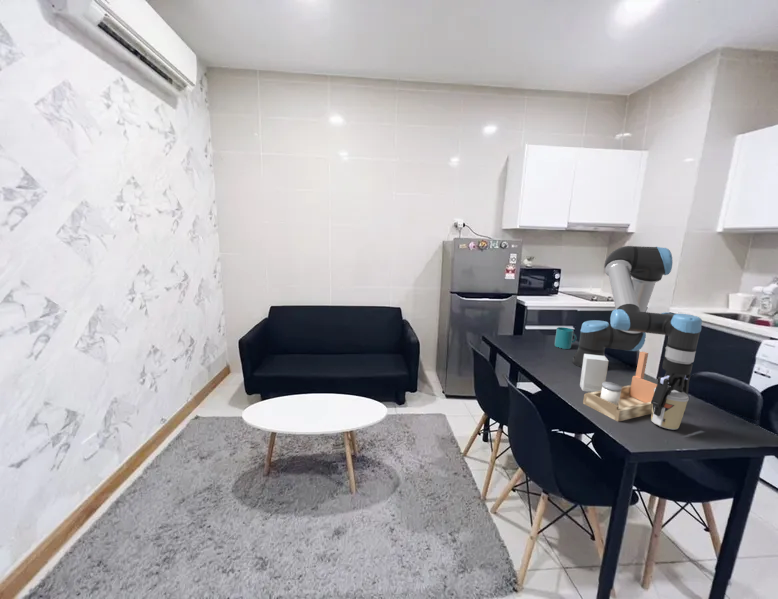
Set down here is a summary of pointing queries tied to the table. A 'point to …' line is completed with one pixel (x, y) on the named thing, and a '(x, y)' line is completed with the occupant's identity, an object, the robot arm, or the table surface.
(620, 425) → the table surface
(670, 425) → the coffee cup
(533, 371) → the table surface
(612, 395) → the jar
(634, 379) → the pusher
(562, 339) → the cup
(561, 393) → the table surface
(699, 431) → the table surface
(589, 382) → the skincare box
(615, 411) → the wooden tray
